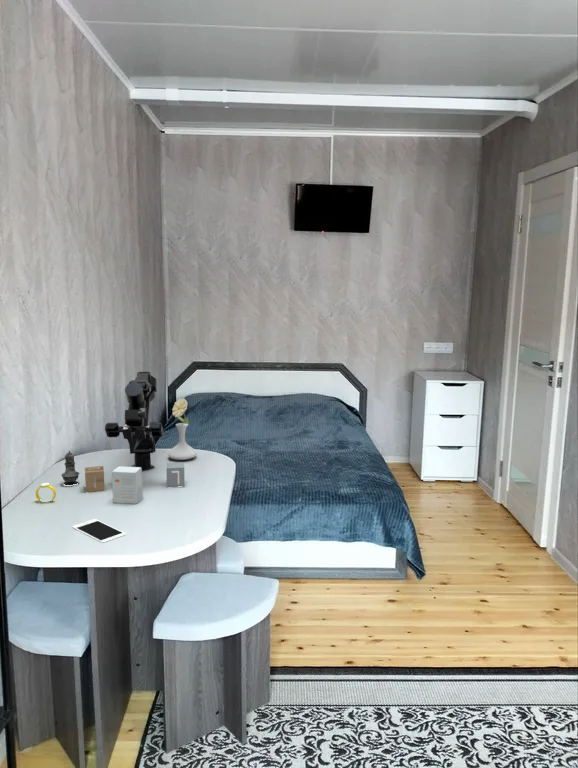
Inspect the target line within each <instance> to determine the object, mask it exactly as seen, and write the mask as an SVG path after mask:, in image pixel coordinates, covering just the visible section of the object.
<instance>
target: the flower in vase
mask: <svg viewBox="0 0 578 768" xmlns="http://www.w3.org/2000/svg"><path fill="white" fill-rule="evenodd" d="M187 409H188V401H187V400H186V399H185V397H183V398H179V399H177V401H175V402H174V405H173V407H172V409H171V410H172V412H171V413H172V416H174V418H177V419H178V420H179V421H181V422H182V423H181V422H178V423H176V424H175V427H176V428H177V431H178V443H177V444H175V446H174V447H172V448H171V449H170V450H169V451H168V453H167V456H168V458H170V459H173V460H177V461H178V460H179V461H184V460H191V459H193V458H195V457H196V456H197V455H198V454H197V451H196V449H194V448H193V447H192V446H190V445H189V444H188V443H187V442H186V430H187V427H188V426H189V423H190V422H189V418H188V417H186V413H185V412H186V410H187ZM181 416H184V418H182V417H181Z"/></svg>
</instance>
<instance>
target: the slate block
mask: <svg viewBox="0 0 578 768" xmlns="http://www.w3.org/2000/svg"><path fill="white" fill-rule="evenodd" d="M165 467H166V469H165V470H166V488H167V487H172V488H179V487H178V486H186V485H185V462H166V466H165Z"/></svg>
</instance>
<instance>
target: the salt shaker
mask: <svg viewBox="0 0 578 768" xmlns="http://www.w3.org/2000/svg"><path fill="white" fill-rule="evenodd" d="M64 459H65V460H64V461H65V463H64V466H65V471H64V472H63V473H61V477H62V479H63V481H64V482H63V483H64V484H65V485H73V484H77V483H78V482H79V481H77V480H78V478H79V475H80V472H78V471H76V468H75V467H76V466H75V465H76V462H75V454H74V453H72V452H71V450H68V453H66V454H65V455H64Z"/></svg>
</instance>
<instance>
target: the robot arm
mask: <svg viewBox="0 0 578 768" xmlns="http://www.w3.org/2000/svg"><path fill="white" fill-rule="evenodd" d="M124 392H125V396H126V401H127V403H128V406H127V408H128V409H125V410H124V424H123V425H122V426H119V423H118V422H107V423H106V424H105V426H104V430H105V433H106V437H108V438H118V437H119V436H120V433H121V434H122V436H123V439H124V440H127V442H128V444H129V446H128V447H129V454H134V465H133V464H132V465H130V467H141V468H142V471H145V470H149V469H153V468H155V466H154V465H152V463H151V462H152V460H151V459H152V458H151V454H153V453H155V452H156V441H155V440H154V438H162V437H163V435H164V431H163V430H164V429H163V424H162V423H161V422H158V421H157V422H155V421H154V422H150V413H151V402H152V401H153V400H154V399H155V398H156V394H157V392H158V381H157V378H156V377H154V375H152V373H151V372H150V371H138V372H136V377H135V378H134V380H133V379H132V380H130V381H129V382H128V384H126V386H125V387H124Z"/></svg>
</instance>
